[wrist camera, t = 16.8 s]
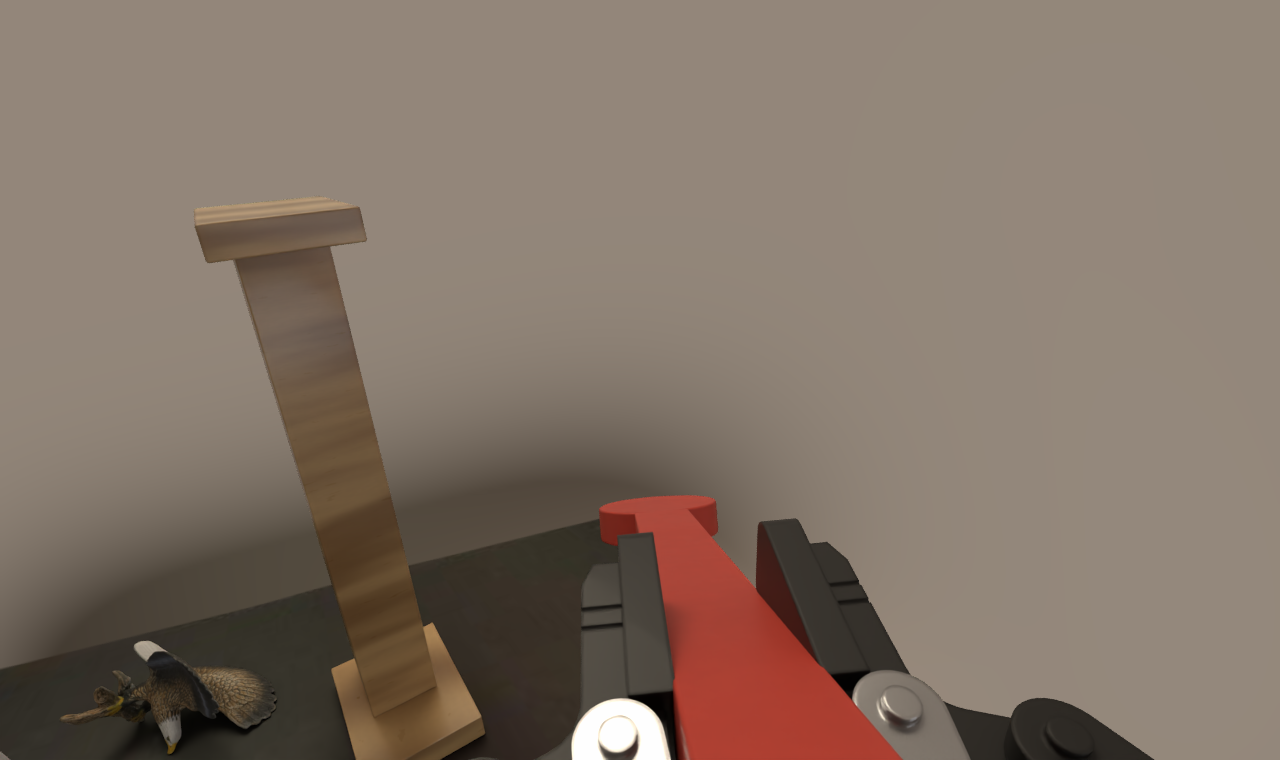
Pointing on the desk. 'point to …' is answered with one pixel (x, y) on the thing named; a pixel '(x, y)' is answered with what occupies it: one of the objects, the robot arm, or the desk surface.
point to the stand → (342, 474)
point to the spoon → (737, 651)
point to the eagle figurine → (182, 694)
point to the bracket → (3, 757)
